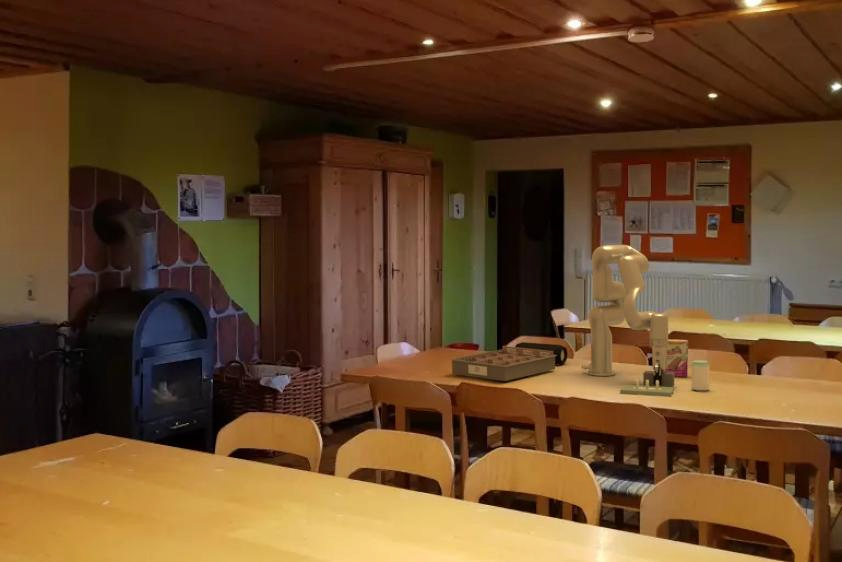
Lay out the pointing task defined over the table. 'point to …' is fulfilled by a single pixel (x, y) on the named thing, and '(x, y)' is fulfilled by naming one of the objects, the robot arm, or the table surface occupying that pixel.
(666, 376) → the plug housing
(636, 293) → the robot arm
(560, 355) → the portable speaker
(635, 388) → the pin board
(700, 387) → the can
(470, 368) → the organizer tray
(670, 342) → the candy bar box
